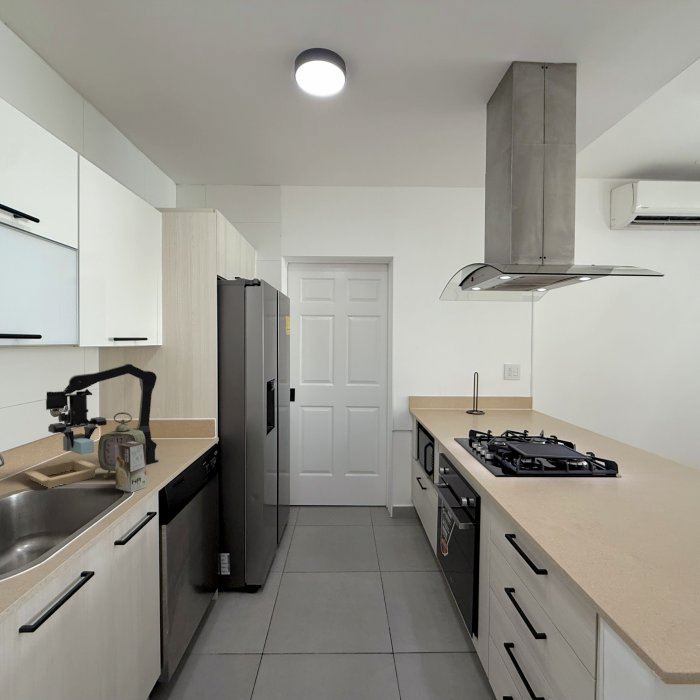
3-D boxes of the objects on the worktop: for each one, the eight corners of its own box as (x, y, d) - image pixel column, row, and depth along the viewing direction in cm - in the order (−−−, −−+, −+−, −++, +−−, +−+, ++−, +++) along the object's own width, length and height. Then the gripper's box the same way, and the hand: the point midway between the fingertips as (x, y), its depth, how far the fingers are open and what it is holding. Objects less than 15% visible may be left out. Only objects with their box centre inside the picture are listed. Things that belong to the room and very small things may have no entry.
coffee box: (147, 487, 146) (147, 442, 145) (130, 493, 140) (130, 446, 140) (131, 482, 150) (130, 439, 150) (114, 488, 144) (113, 443, 144)
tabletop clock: (98, 480, 153) (97, 414, 152) (111, 472, 162) (110, 410, 161) (137, 479, 153) (136, 414, 153) (148, 472, 162) (147, 410, 162)
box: (96, 451, 159) (96, 437, 159) (78, 455, 154) (78, 441, 153) (81, 446, 167) (81, 433, 166) (63, 450, 161) (63, 436, 161)
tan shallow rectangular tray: (102, 476, 157) (102, 467, 157) (43, 491, 142) (43, 481, 141) (78, 467, 169) (78, 458, 169) (22, 480, 153) (22, 470, 153)
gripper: (94, 402, 172) (95, 438, 173) (42, 408, 157) (43, 448, 157) (107, 404, 166) (107, 442, 166) (53, 411, 151) (54, 452, 151)
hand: (79, 446), depth 160 cm, fingers closed on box, 4 cm apart
